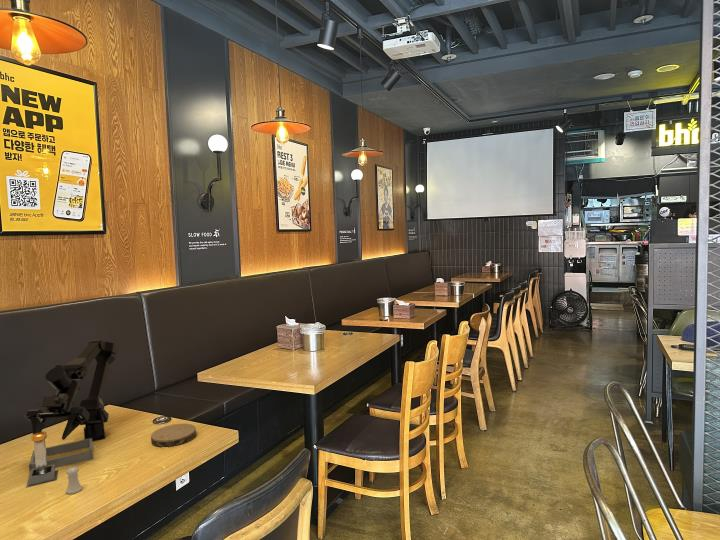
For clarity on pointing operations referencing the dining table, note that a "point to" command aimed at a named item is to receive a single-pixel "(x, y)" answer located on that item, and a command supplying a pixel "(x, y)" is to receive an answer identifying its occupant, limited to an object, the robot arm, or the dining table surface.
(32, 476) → the bracket
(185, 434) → the wooden coaster disc
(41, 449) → the stop pin
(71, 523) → the dining table surface
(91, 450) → the pin tray
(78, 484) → the rook chess piece
